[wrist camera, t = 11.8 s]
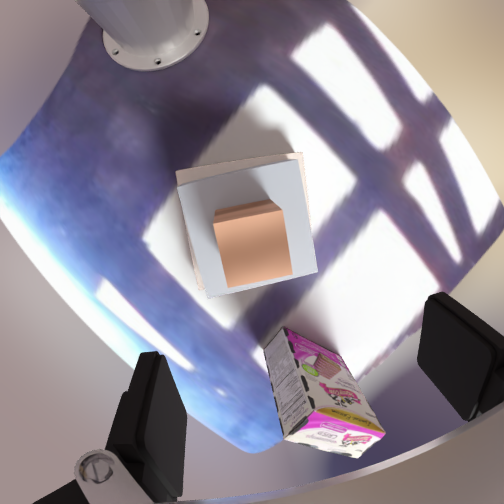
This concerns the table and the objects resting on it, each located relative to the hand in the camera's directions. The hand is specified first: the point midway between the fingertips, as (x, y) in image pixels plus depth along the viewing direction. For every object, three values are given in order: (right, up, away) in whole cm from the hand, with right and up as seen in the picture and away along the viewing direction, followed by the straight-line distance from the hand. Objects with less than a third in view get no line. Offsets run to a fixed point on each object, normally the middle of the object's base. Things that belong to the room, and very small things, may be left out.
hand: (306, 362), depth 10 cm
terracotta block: (-2, +6, +19) cm, 20 cm away
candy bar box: (+5, -10, +32) cm, 34 cm away
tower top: (-2, +7, +22) cm, 24 cm away
